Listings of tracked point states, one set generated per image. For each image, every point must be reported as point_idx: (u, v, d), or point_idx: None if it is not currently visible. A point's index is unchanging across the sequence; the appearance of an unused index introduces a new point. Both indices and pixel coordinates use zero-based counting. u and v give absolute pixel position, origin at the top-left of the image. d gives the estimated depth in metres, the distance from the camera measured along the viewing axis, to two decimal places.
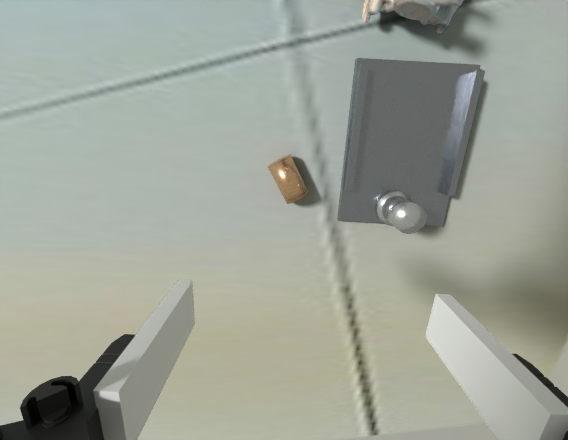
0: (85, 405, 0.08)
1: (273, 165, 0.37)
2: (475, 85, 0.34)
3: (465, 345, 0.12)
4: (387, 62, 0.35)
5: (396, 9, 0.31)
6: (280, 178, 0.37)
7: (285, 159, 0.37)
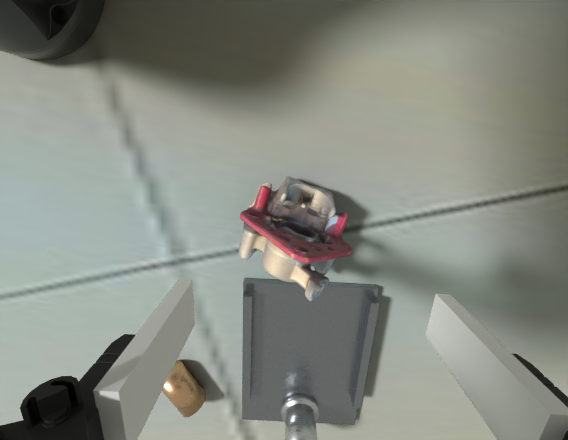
0: (85, 405, 0.08)
1: None
2: (370, 316, 0.31)
3: (465, 345, 0.12)
4: (276, 286, 0.32)
5: None
6: (168, 397, 0.34)
7: (171, 381, 0.34)
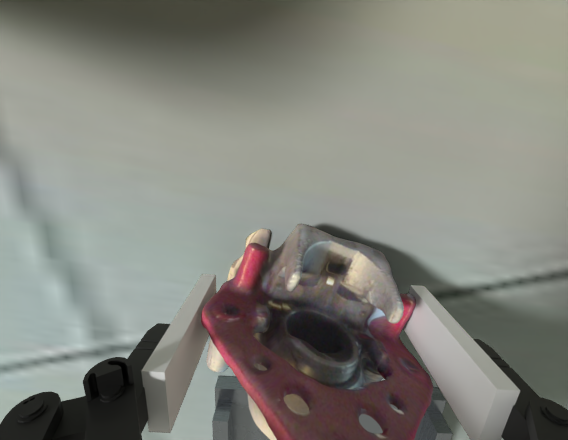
0: None
1: None
2: None
3: (433, 331, 0.13)
4: None
5: None
6: None
7: None
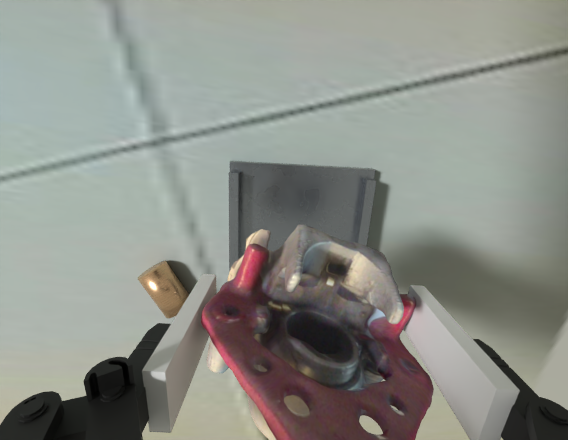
0: None
1: (140, 280, 0.31)
2: (367, 196, 0.29)
3: (432, 331, 0.13)
4: (265, 166, 0.30)
5: None
6: (151, 293, 0.32)
7: (154, 273, 0.31)
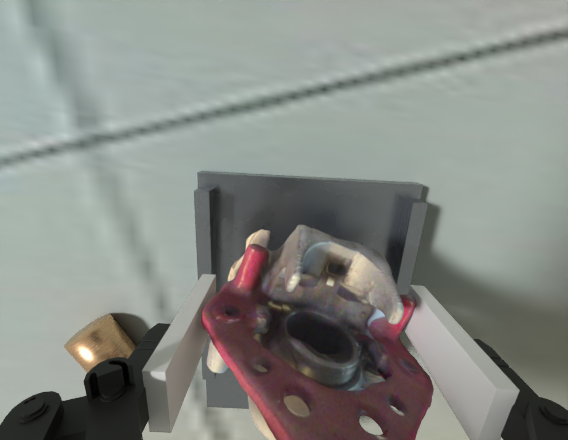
0: None
1: (67, 349, 0.21)
2: (411, 227, 0.18)
3: (432, 331, 0.13)
4: (253, 180, 0.19)
5: None
6: (85, 367, 0.21)
7: (88, 339, 0.21)
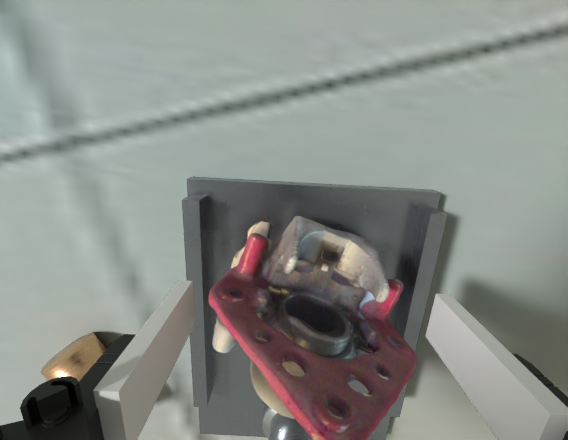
0: (85, 405, 0.08)
1: (44, 375, 0.19)
2: (428, 240, 0.16)
3: (465, 344, 0.12)
4: (249, 187, 0.17)
5: None
6: None
7: (68, 362, 0.19)
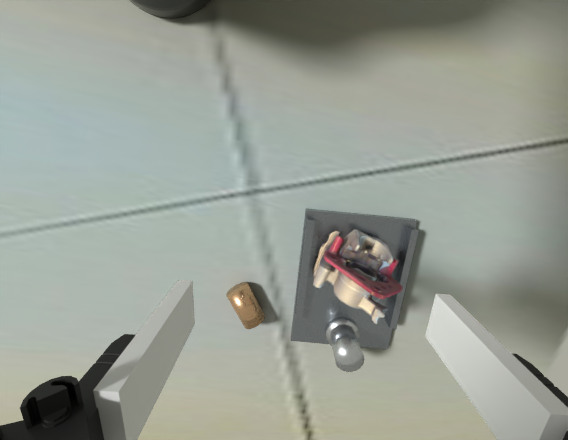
0: (85, 405, 0.08)
1: (232, 297, 0.40)
2: (411, 241, 0.38)
3: (465, 344, 0.12)
4: (333, 214, 0.39)
5: None
6: (239, 308, 0.40)
7: (243, 291, 0.40)
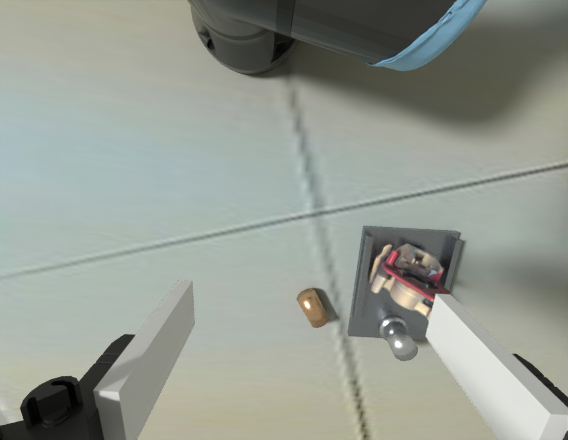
0: (85, 405, 0.08)
1: (305, 302, 0.47)
2: (455, 250, 0.45)
3: (465, 344, 0.12)
4: (387, 230, 0.46)
5: None
6: (311, 310, 0.48)
7: (314, 296, 0.47)
